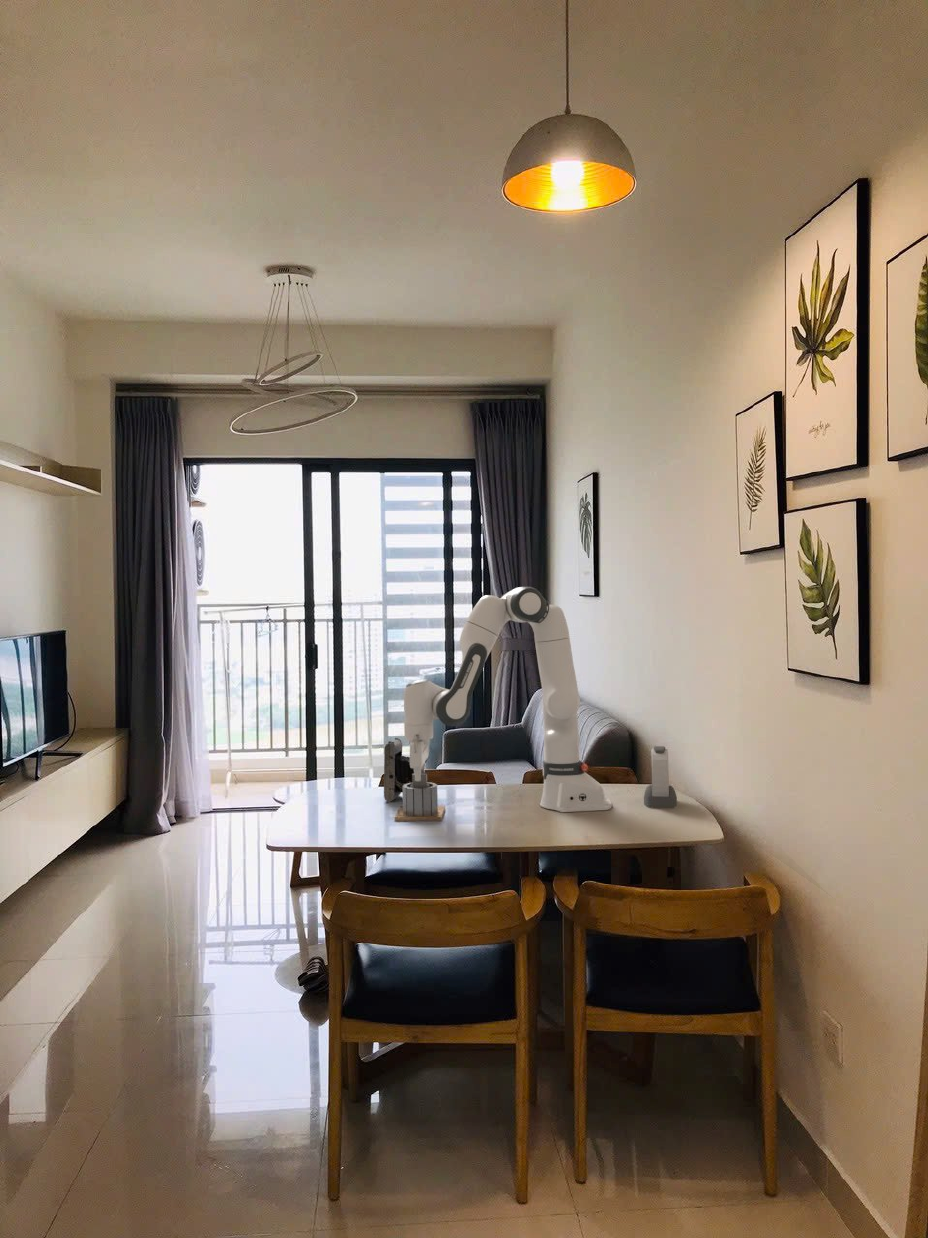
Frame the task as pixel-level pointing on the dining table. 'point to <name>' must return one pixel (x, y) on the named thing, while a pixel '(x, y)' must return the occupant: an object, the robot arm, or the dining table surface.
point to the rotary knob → (420, 782)
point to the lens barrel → (420, 804)
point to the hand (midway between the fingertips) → (419, 777)
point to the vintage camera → (395, 770)
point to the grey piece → (660, 782)
